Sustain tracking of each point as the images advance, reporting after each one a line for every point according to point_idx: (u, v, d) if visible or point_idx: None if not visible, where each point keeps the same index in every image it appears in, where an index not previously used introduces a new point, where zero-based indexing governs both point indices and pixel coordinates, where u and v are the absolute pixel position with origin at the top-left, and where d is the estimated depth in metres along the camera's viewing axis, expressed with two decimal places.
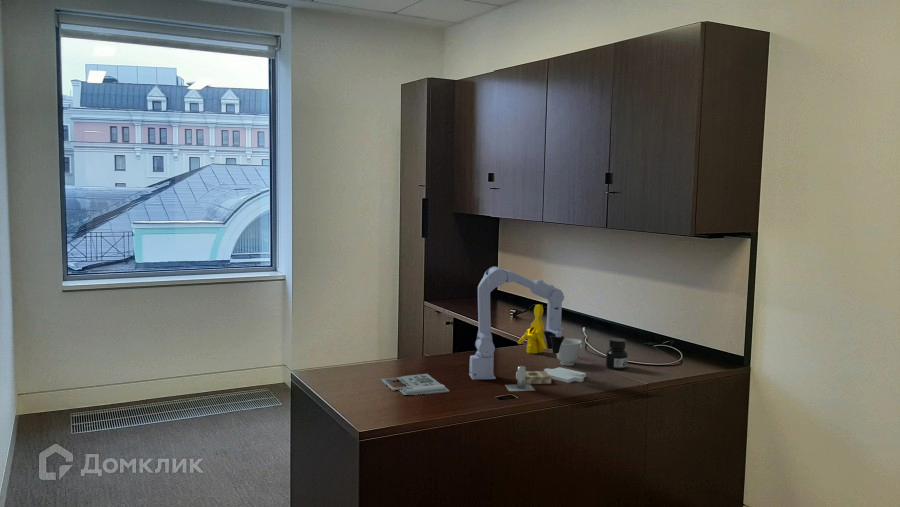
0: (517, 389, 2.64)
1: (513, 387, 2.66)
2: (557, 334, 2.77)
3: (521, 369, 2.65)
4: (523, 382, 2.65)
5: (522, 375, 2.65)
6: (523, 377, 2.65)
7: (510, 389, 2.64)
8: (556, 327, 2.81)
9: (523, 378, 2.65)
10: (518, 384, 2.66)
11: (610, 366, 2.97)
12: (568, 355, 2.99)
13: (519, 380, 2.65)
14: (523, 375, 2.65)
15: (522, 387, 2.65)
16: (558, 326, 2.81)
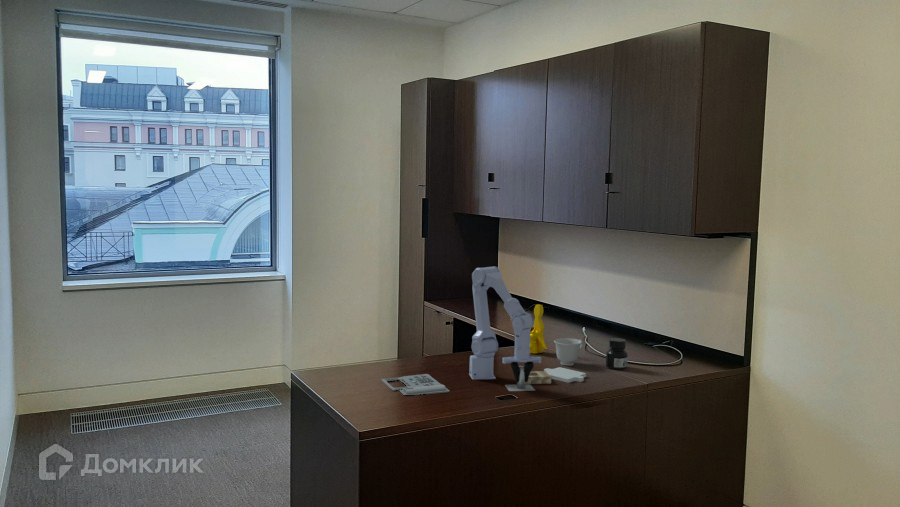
0: (517, 389, 2.64)
1: (513, 387, 2.66)
2: (502, 359, 2.65)
3: (521, 369, 2.65)
4: (523, 382, 2.65)
5: (522, 375, 2.65)
6: (523, 377, 2.65)
7: (510, 389, 2.64)
8: (514, 355, 2.65)
9: (523, 378, 2.65)
10: (518, 384, 2.66)
11: (610, 366, 2.97)
12: (568, 355, 2.99)
13: (519, 380, 2.65)
14: (523, 375, 2.65)
15: (522, 387, 2.65)
16: (516, 355, 2.64)
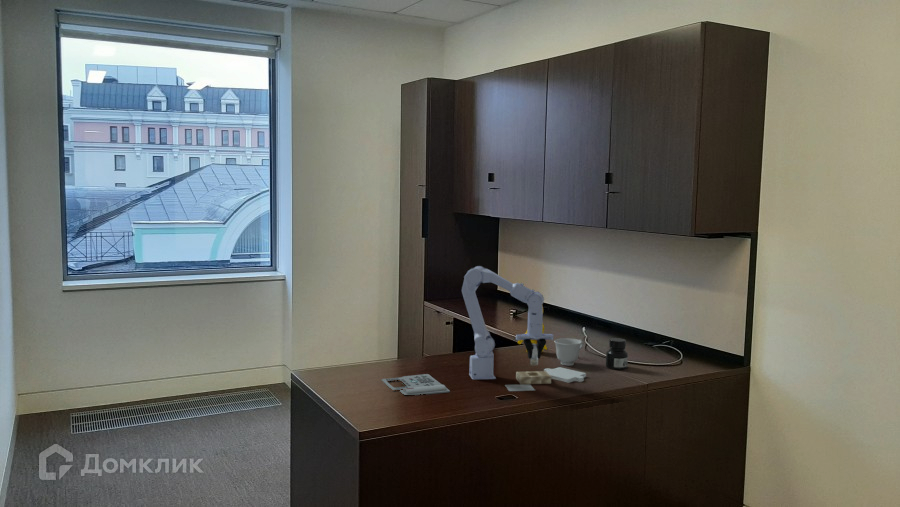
0: (517, 389, 2.64)
1: (513, 387, 2.66)
2: (516, 336, 2.74)
3: (534, 346, 2.73)
4: (536, 359, 2.74)
5: (534, 352, 2.73)
6: (536, 354, 2.73)
7: (510, 389, 2.64)
8: (527, 332, 2.74)
9: (536, 355, 2.74)
10: (531, 361, 2.74)
11: (610, 366, 2.97)
12: (568, 355, 2.99)
13: (532, 357, 2.74)
14: (536, 352, 2.73)
15: (534, 364, 2.74)
16: (529, 332, 2.73)
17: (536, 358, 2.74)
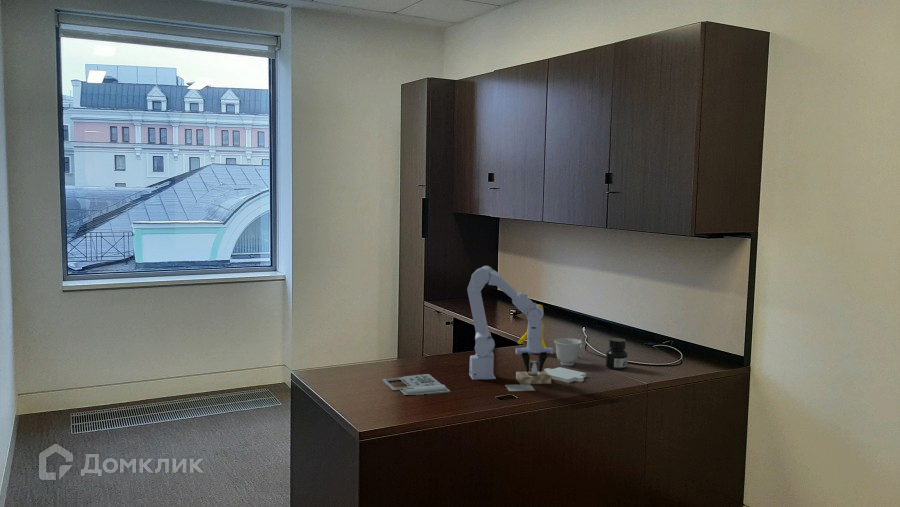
0: (517, 389, 2.64)
1: (513, 387, 2.66)
2: (515, 350, 2.75)
3: (533, 364, 2.74)
4: None
5: (534, 370, 2.74)
6: (535, 372, 2.74)
7: (510, 389, 2.64)
8: (527, 346, 2.74)
9: (535, 373, 2.74)
10: None
11: (610, 366, 2.97)
12: (568, 355, 2.99)
13: (531, 374, 2.75)
14: (535, 370, 2.74)
15: None
16: (528, 345, 2.73)
17: (535, 375, 2.74)
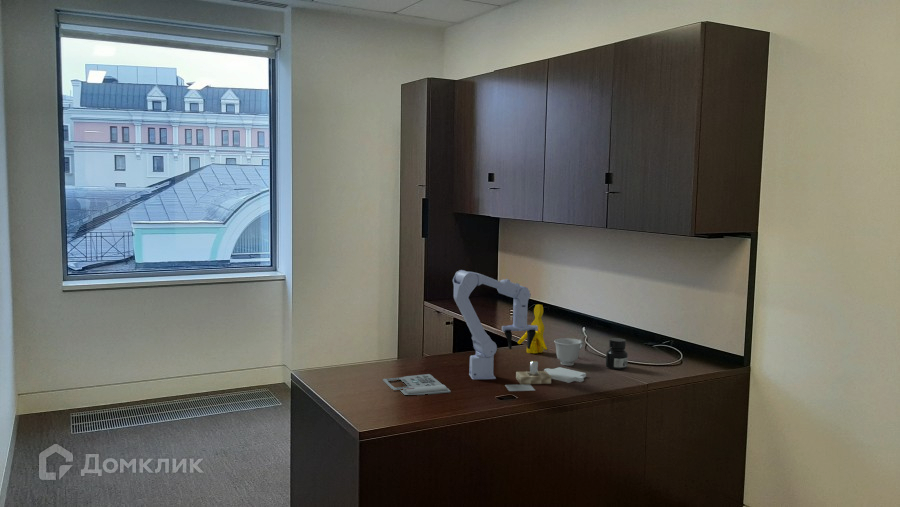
0: (517, 389, 2.64)
1: (513, 387, 2.66)
2: (502, 328, 2.85)
3: (533, 364, 2.74)
4: None
5: (534, 370, 2.74)
6: (535, 372, 2.74)
7: (510, 389, 2.64)
8: (513, 323, 2.85)
9: (535, 373, 2.74)
10: None
11: (610, 366, 2.97)
12: (568, 355, 2.99)
13: (531, 374, 2.75)
14: (535, 370, 2.74)
15: None
16: (514, 323, 2.84)
17: (535, 375, 2.74)
